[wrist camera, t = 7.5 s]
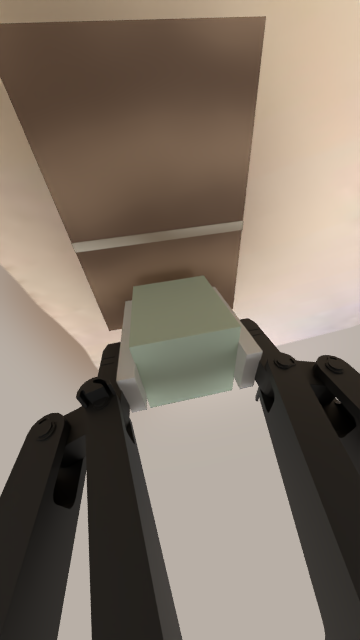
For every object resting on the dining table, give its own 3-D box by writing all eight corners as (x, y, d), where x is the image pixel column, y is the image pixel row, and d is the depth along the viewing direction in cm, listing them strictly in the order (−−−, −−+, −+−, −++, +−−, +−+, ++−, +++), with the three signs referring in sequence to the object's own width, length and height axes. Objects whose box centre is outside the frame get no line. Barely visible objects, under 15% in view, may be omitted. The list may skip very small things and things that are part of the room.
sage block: (133, 286, 12) (128, 347, 8) (203, 275, 13) (240, 326, 8) (147, 339, 15) (150, 407, 11) (204, 329, 16) (232, 390, 11)
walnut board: (27, 72, 10) (-24, 22, 7) (230, 62, 11) (267, 15, 8) (114, 307, 20) (109, 331, 17) (218, 290, 21) (233, 309, 18)
